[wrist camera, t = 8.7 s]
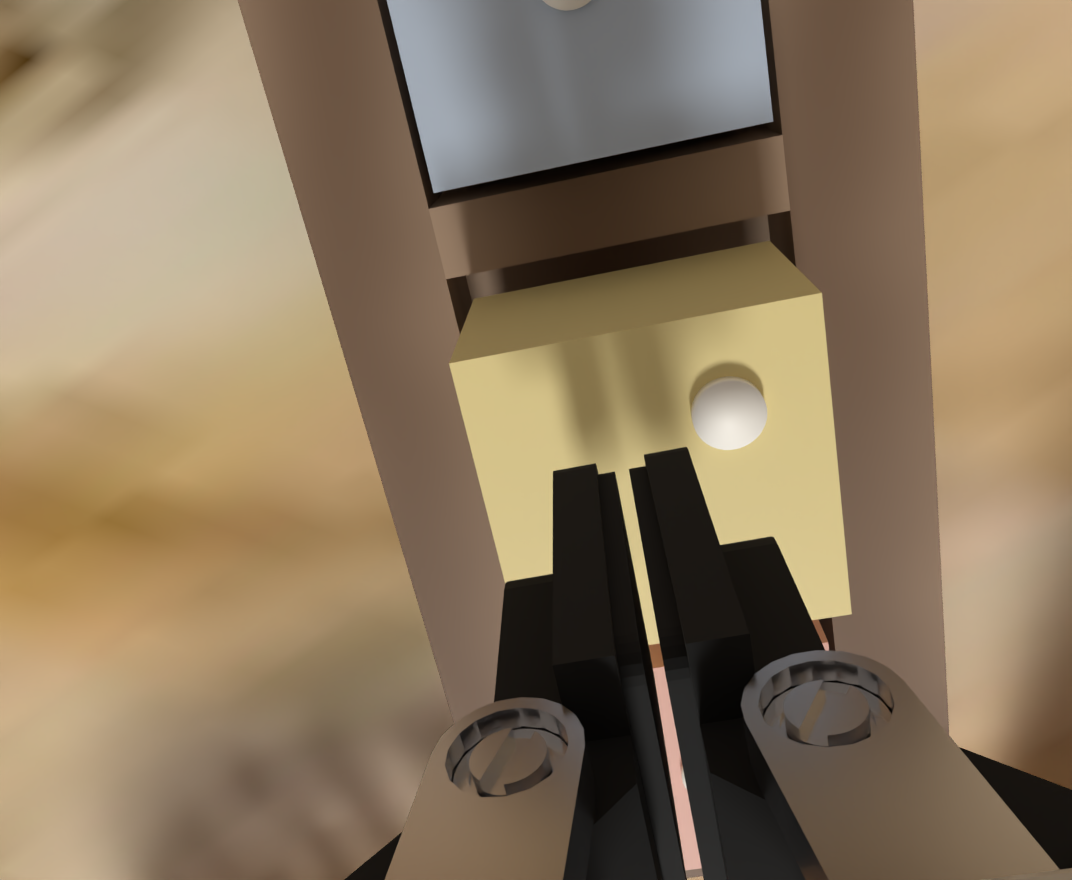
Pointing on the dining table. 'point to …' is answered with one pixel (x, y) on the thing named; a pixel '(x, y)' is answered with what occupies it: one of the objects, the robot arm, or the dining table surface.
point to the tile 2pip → (662, 406)
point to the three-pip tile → (674, 757)
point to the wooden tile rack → (615, 244)
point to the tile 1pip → (574, 79)
